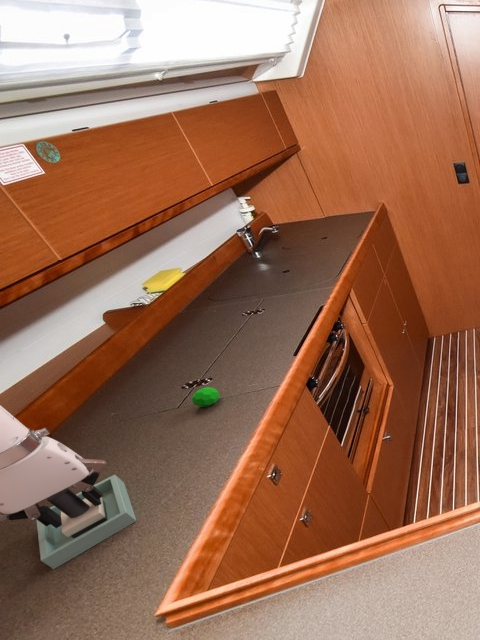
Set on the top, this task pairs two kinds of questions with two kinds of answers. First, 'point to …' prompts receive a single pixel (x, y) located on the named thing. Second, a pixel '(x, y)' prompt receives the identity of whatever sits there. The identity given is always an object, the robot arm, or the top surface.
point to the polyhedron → (205, 397)
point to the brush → (77, 513)
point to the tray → (64, 548)
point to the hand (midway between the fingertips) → (78, 511)
